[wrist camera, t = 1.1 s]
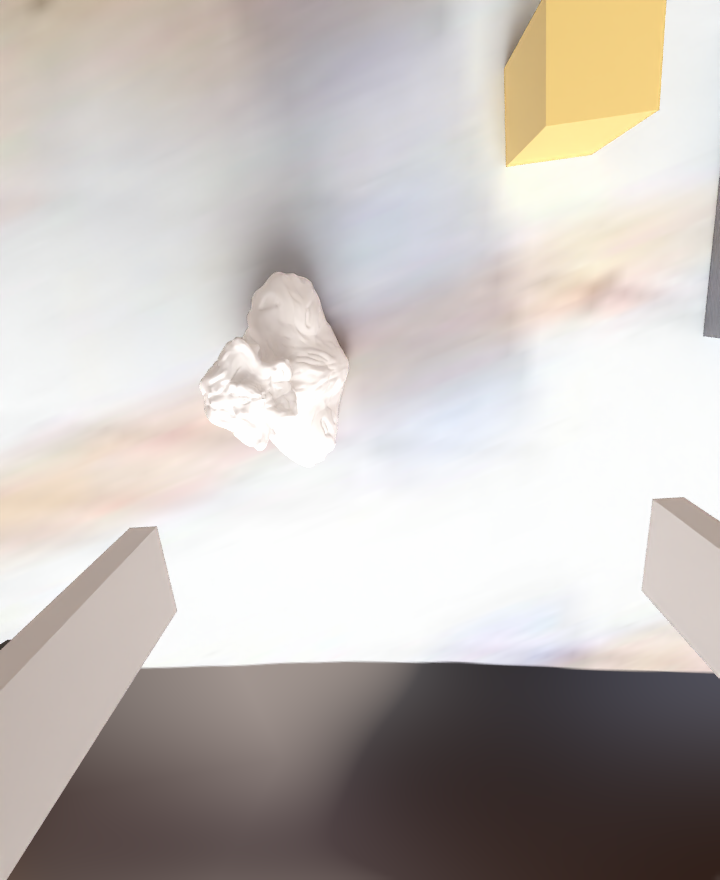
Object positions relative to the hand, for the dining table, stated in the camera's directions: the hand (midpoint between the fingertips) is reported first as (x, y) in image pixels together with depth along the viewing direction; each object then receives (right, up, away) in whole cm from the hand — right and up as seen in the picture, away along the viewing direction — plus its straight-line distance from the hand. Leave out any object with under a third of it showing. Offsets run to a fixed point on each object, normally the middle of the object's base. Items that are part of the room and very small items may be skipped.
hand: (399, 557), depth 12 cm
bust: (-5, +8, +20) cm, 22 cm away
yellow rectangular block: (+10, +22, +14) cm, 28 cm away
